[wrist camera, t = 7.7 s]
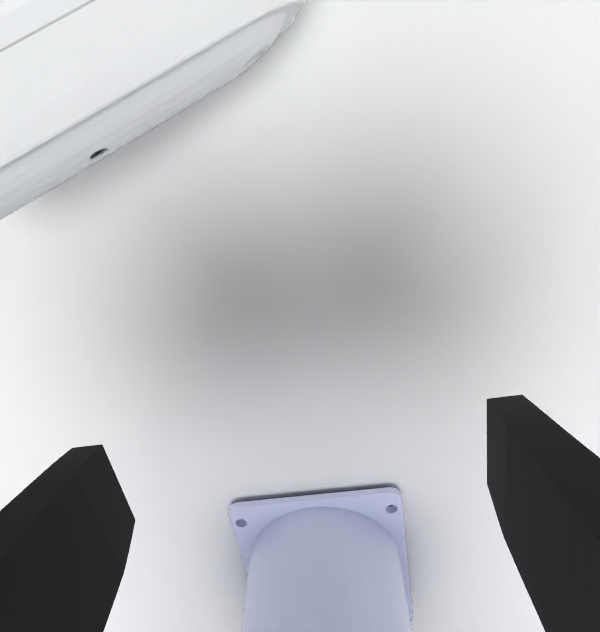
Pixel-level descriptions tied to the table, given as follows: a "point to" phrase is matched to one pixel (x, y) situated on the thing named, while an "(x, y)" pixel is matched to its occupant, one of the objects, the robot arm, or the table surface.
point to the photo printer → (112, 75)
